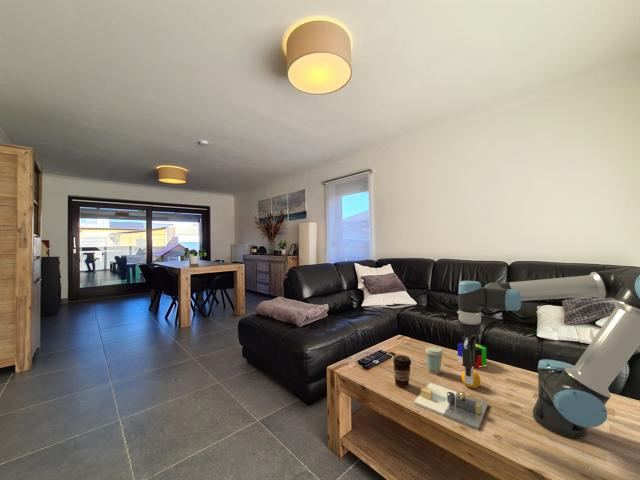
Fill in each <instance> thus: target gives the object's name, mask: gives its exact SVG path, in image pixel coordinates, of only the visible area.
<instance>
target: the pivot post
mask: <svg viewBox="0 0 640 480" xmlns="http://www.w3.org/2000/svg"><path fill="white" fill-rule="evenodd" d="M447 402H448V403H450V404H454V403H455V394H454V393H452V392H447Z"/></svg>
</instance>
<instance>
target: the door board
mask: <svg viewBox="0 0 640 480" xmlns="http://www.w3.org/2000/svg"><path fill="white" fill-rule="evenodd" d="M447 392H452V393H454V394H455V395H456V393H457V392H458V391H456V390H452V389H449V388H447V387H444V386H441V385H438V384H435V383H433V382H429V384H427V386H425V387H422V388H421V389H420V394H419V395H418V396H417V397H416V398H415V399H414V400H413V405H416V406H418V407H420V408H422V409H426V410H427V411H431V412H432V413H435V414H437V415H439V416H440V415H441V416H442V417H444V412H445V411H446V409H447V408H448V406H449V404H450V403H448V402H447Z"/></svg>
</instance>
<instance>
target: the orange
mask: <svg viewBox="0 0 640 480" xmlns="http://www.w3.org/2000/svg"><path fill="white" fill-rule="evenodd" d="M461 381H462V383H463V385H465V386H466V387H468V388H470V389H471V388H472V389H477V388H479V386H481V383H482V381H481V377H480V375H479V374H478V373H477V372H476V371H475V370H473V385H470V384H467V383H465V370H463V371H462V372H461Z"/></svg>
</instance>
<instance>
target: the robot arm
mask: <svg viewBox="0 0 640 480" xmlns="http://www.w3.org/2000/svg"><path fill="white" fill-rule="evenodd" d="M457 295H458V301H457V302H458V303H457V305H458V310H457V311H456V313H457V314H458V322H457V323H458V324H457V325H458V331H459V332H460V333H463V336H462V342H461V343H462V344H461V345H462V353H463V363H462V365H461V366H463V367H464V371H465V383H467V384H470V385H473V371H474V368H473V366H475V367H476V364H474V362H475V346H476V344H477V343H476V342H477V335H480V334H481V333H482V331H481V329H482V327H481V326H482V324H481V322H482V308H483V309H492V310H500V311H501V310H502V311H507V312H509V311H512V312H517V311H520V309H521V306H522V301H523V302H525V301H526V302H527V301H541V300H555V299H556V300H558V299H570V298H571V299H572V298H575V299H576V298H587V297H589V298H590V297H596V298H598V299H600V300H606V299H609V300H610V299H612V302H613V304H614V306H615V308H614V309H613V310H612V312H611V313H610V315H608V318H607V319H606V321H605V322H604V323H603V325H602V326H601V327H600V329H599V330H598V332H597V333H596V335H595V337H594V338H593V339H592V340H591V342H590V343H589V345H588V346H587V348H586V350H584V352H583V353H582V355H581V356H580V357H579V359H578V361H577V362H576V363H575V364H571V363H568V362H564V361H561V360H560V361H559V360H554V359H540V360H539V361H538V366H537V370H538V371H537V373H538V374H537V376H538V377H537V380H538V381H537V383H538V384H537V387H538V388H537V389H538V393H537V394H538V398H537V400H536V401H535V403H534V407H532V408H533V409H532V418H533V419H534V421H535V422H536V423H537V424H538V425H540V426H541V427H543V428H544V429H546V430H548V431H550V432H552V433H554V434H557V435H559V436H563V437H566V438H571V439H582V438H581V437H584V436H586V437H587V434H588V428H597V427H600V426H601V425H603V424H604V423H606V421H607V419H608V411H607V408H606V404H607V402H608V401H609V400H610V399H611V398H612V395H611V392H610V390H609V387H610V385H611V384H612V383H613V382H614V381H615V379H616V378H617V376H618V375H619V373H620V372H621V370H622V369H623V368H624V367H625V365H626V364H627V363H628V361H629V360H630V359H631V357H632V356H633V355H634V353H635V351H637V349H638V348H639V347H640V267H636V266H635V267H634V266H633V267H622V268H621V267H620V268H616V269H615V268H614V269H608V270H607V269H606V270H599V271H592V272H590V274H589V275H577V276H566V277H555V278H543V279H535V280H533V279H531V280H523V281H510V282H501V283H500V282H499V283H498V282H489V283H488V284H486V285H485V286H484V287H483V286H482V284H481V282H480V281H475V280H461V281H460V282H459V283H458V294H457ZM584 438H585V437H584Z"/></svg>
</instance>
